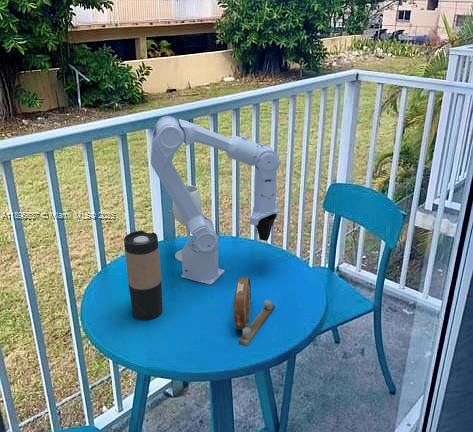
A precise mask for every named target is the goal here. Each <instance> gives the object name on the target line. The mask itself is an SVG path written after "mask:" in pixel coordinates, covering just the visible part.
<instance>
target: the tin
mask: <svg viewBox="0 0 473 432" xmlns="http://www.w3.org/2000/svg"><path fill="white" fill-rule="evenodd" d="M235 286H236V287H235V291H234V297H233V317H234V328H235V329H236V330H243V328H245V327H249V320H250V313H251V306H252V305H251V304H252V303H251V302H252V295H251V294H252V293H251V292H252V291H251V289H252V288H251V279H250V276H248V277H245V276H244V277H238V278H237V282H236V285H235Z"/></svg>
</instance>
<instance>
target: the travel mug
mask: <svg viewBox="0 0 473 432" xmlns="http://www.w3.org/2000/svg"><path fill="white" fill-rule="evenodd" d="M158 239H159V237H158V235H157V233H156V232H155V231H153V232H151V233H150V232H147V231H144V230H137V231H132V232H130V233H128V234H127V235H125V237H124V238H123V243H124V251H125V252H124V253H125V254H124V255H125V262H126V274H127V281H128V282H127V284H128V291H129V298H130V303H131V309H132V311H131V312H132V315H133V317H134V318H135V319H137V320H140V321H150V320H154V319H156V318H158V317H160V316H161V315H162V313H163V292H162V291H163V289H162V286H163V285H162V284H163V283H162V270H161V261H160V260H161V259H160V250H159V249H160V248H159V240H158Z"/></svg>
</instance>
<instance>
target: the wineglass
mask: <svg viewBox="0 0 473 432" xmlns="http://www.w3.org/2000/svg"><path fill="white" fill-rule="evenodd" d="M185 185H186V187H187V189H188V190H189V192H190V194H191V196H192V197H193V199H194V201H195V202H196V204H197V206H198V207H199V209H200V210H201V211H202V208H203V207H202V198H201V193H200V190H199V187H197V186H196V185H190V184H189V185H188V184H185ZM172 213H173V216H174V218H175V221H177V222H178V223H179V224H181V225H182V226H185V229H186V239H187V240H186V241H187V242H186V244H187V243H188V242H192V241H191V240H192V239H191V232H190V229H189V227H188V225H187V223H186V221H185V219H184V218H183V216H182V214H181V213H180V211H179V210H178V208H177V206H176V205H175V203H174V201H173V200H172ZM182 251H183V248H182V249H180V250H178V251H177V252H176V253H175V254H174V256H175V257H174V258H175V259H176V260H177V261H180V262H182Z"/></svg>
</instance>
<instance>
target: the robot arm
mask: <svg viewBox="0 0 473 432" xmlns="http://www.w3.org/2000/svg"><path fill="white" fill-rule="evenodd" d="M151 134H152V135H151V146H150V147H151V150H150V165H151V167H152V169H153V171H154V172H155V174H156V175H157V177H158V178H159V181H161V184H162V185H163V187H164V188H165V190H166V192H167V193H168V195H169V196H170V198H171V200H172V202H173V201H174V203H175V205H176V206H177V208H178V210H179V211H180V213H181V214H182V216H183V218H184V219H185V221H186V223H187V225H188V227H189V229H190V235H192V241H191V242H188V243H187V242H186V243H185V244H184V246H183V248H182V249H183V251H182V261H181V266H182V268H181V269H182V274H181V275H180V276H181V278H183V279H187V280H191V281H194V282H195V281H196V282H198V283H202V284H206V285H210V286H211V285H213V284H214V283H215V282H216V281H217V280H218V279H219V278H220V277H221V276H223V274H224V273H225V270H224V269H222V268H219V237H218V235H217V233H216V230H215V228H214V227H215V226H214V224H213V221H212V220H211V219H210V218H208V217H206V216H205V214H204V213H203V212H202V211H201V210H200V209H199V207H198V206H197V204H196V202H195V201H194V199H193V197H192V196H191V194H190V192H189V190H188V189H187V187H186V185H187V184H185V182H184V180H183V179H182V177H181V175H180V174H179V171H178V170H177V169H176V166H175V165H174V163H173V159H174V157H175V154H176V152H177V151H179V149H180V148H181V147H182V145H183V143H184V145H185V147H187V146H189V145H192V144H194V143H198V144H202V145H205V146H207V147H211V148H214V149H215V148H216V149H217V150H221V151H224V152H225V153H226V156H227V157H228V158H229V159H231V160H234V161H237V162H240V163H243V164H245V165H248V166H250V167H252V166H253V167H254V180H253V181H254V183H253V184H254V186H253V188H254V189H253V208H252V212H251V216H250V217H249V225H253V226H255V227H256V231H257V235H258V236H259V240H260V241H264V242H267V241H268V240H269V238H270V236H271V231H272V229H273V228H272V227H273V225H274V222H275V220H276V218H277V217H278V214H279V213H280V211H281V210H280V208H278V207H279V199H276V198H277V179H278V178H277V170H278V169H279V167H280V166H281V161H280V158H279V155H278V153H276V152H275V151H274V150H273V148H272V147H270V146H268V145H267V144H266V143H265V144H263V142H259V143H257V142H254V141H251V140H249V139H248V138H247V136H245V135H241V136H239V135H234V136H232V137H231V138H230V137H227V136H224V135H222V134H220V133H217V132H215V131H213V130H210V129H208V128H205V127H202V126H200V125H197V124H196V123H192V122H191V121H190V122H189V121H188V120H185V119H180V118H179V119H177V118H175V117H174V116H170V115H165V116H163V117H161V118H159V119H158V121H157V122H156V124H155V126H154V127H153V130H152V133H151Z"/></svg>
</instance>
